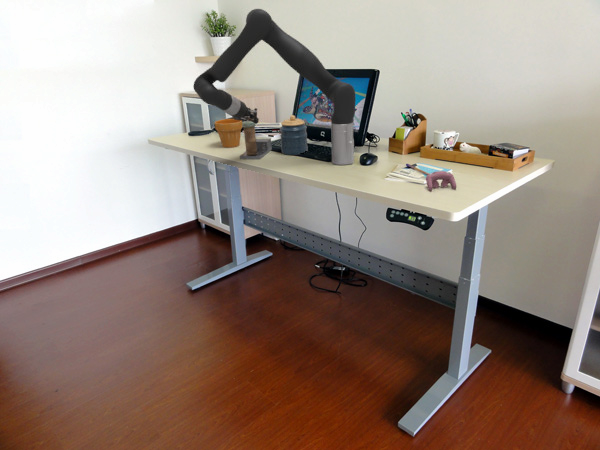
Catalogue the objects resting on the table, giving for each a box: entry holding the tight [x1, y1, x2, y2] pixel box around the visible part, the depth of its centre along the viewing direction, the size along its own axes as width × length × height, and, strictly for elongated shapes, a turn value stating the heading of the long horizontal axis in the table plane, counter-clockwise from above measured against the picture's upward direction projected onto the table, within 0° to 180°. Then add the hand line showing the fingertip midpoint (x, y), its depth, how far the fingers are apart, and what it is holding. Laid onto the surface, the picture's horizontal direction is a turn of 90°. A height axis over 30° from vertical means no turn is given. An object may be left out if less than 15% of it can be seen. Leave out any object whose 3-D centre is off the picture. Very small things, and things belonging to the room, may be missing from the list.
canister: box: [279, 114, 309, 156], centre depth 198 cm, size 13×13×18 cm
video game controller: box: [425, 170, 457, 192], centre depth 144 cm, size 10×5×7 cm, turn 92°
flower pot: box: [214, 118, 243, 149], centre depth 217 cm, size 14×14×13 cm
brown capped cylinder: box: [242, 120, 257, 155], centre depth 192 cm, size 6×6×15 cm
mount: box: [239, 138, 273, 160], centre depth 200 cm, size 10×18×6 cm, turn 166°
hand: (257, 121), depth 187 cm, fingers closed
